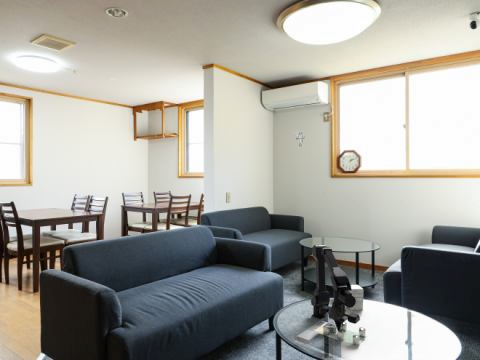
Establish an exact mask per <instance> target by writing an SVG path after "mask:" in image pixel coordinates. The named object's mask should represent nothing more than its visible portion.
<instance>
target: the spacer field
mask: <svg viewBox="0 0 480 360" xmlns="http://www.w3.org/2000/svg"><path fill="white" fill-rule="evenodd" d="M347 325H348V324H347V322H346V321H345V322H344V323H343V325H342V328H341V330H338V340H337V341H339V342H342V341H343V340H344V331H346V330H347V327H348V326H347ZM329 329H330V327H329V326H326V325H325V326H323V334H324V335H323V336H325V335H326V337H328V335H329ZM358 333H359V336H357V335H353V345H352V346H354V347H359V346H360V344H359V341H360V337H362V338H365V336H366V328H365V327H363V326H362V327H358ZM365 339H366V338H365Z"/></svg>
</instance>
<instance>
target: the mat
mask: <svg viewBox="0 0 480 360" xmlns="http://www.w3.org/2000/svg"><path fill="white" fill-rule="evenodd" d="M326 323H327V322H324V323H323V324H321V326H319V327H318V328H316V329H315V330H313V332H315V333H317V334H320V335H321V336H326V335H324V334H323V326H325V325H326ZM353 335H357V336H359V332H355V331H352V330H349V329H346V331H344V340H343V341H341V342H342V343H345V344H348V345H352V346H354V345H353ZM326 337H328V338H331V339H334V340H337V341H339V340H338V330H337V327H336V333H329V335H328V336H326ZM367 337H368V336H367V335H365V338H362V337H360V341H359V345H361V343H362V342H363V341H365V339H366V338H367Z"/></svg>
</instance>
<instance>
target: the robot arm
mask: <svg viewBox="0 0 480 360" xmlns="http://www.w3.org/2000/svg"><path fill="white" fill-rule="evenodd" d="M311 253H312V257H313V259H314V260H315V273H316V274H315V278H316V288H315V289H314V291H313V296H312V298H311V299H310V304H311V306H312V307H313V308H312V310H313V311H312V314H311V316H312V317H314V318H316V319H319V320H321V319H324V318H326V317H327V316H328V319H329V320H333V321H334V322H333V323H334V324H335V325H336V327H337V330H341V328H342V325H343V323H344V322H346V321H348V322H349V323H351V324H355V325H356V324H357V323H358V322H360V320H361V317H360V314H358V313H354V312H351V313H346V312H347V309H346V307H347V308H349V309H350V308H352V307H353V306H354V305H355V303H356V300H355V297H354V296H352V293H351V292H349V291H352V289H351V285H352V284H351V282H350V280H349V277H348V275H347V273H346V272H345V271H344V270H342V269H341V267H340V266H339V264H338V261H337V260H336V257H335V255H334V253H333V249H332V247H330V246H326V244H313V246H312V247H311ZM325 263H326V264H325ZM326 265H327V268H328V269H329V272H330V280H331V281H330V282H331V284H332V286H331V288H332V289H333V299H332V304H331V306H330V305H329V304H330V300H331V298H330V291H328V290H327V287H326Z"/></svg>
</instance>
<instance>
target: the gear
mask: <svg viewBox="0 0 480 360" xmlns="http://www.w3.org/2000/svg"><path fill="white" fill-rule="evenodd" d="M325 323H326V326H329V327H330V329H329V333H336V324H335V323H334V322H332V323H331V322H325Z"/></svg>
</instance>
